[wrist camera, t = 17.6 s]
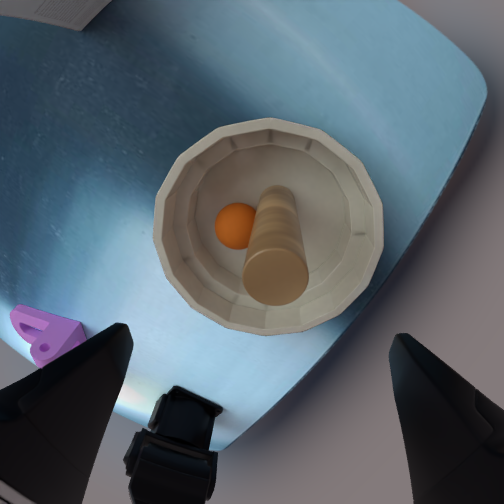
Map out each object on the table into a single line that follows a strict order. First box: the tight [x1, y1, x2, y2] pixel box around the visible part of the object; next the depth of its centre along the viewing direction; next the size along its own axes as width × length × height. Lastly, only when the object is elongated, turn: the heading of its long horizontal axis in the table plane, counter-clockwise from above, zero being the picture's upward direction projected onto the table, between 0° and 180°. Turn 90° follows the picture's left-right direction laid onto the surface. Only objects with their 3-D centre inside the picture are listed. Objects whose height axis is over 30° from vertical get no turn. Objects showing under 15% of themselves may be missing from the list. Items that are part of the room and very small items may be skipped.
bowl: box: [153, 117, 384, 336], centre depth 18 cm, size 13×13×5 cm
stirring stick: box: [242, 185, 309, 306], centre depth 15 cm, size 2×2×10 cm
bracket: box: [10, 304, 87, 368], centre depth 26 cm, size 13×6×7 cm, turn 86°
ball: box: [215, 203, 256, 250], centre depth 19 cm, size 3×3×3 cm
